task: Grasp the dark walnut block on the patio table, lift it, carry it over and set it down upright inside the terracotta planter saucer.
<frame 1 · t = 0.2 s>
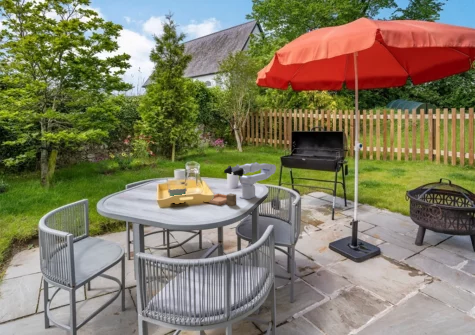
hand: (229, 172, 194), 21 cm above the table, tool horizontal, fingers open, 7 cm apart
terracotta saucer: (218, 200, 206), on the table
food container: (178, 203, 203), on the table
walnut block: (231, 204, 196), on the table
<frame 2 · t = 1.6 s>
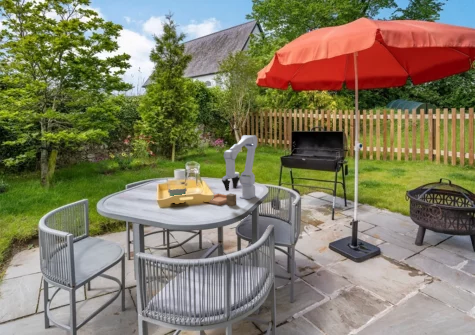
hand: (231, 189, 195), 10 cm above the table, tool pointing down, fingers open, 7 cm apart
nothing on the table moved.
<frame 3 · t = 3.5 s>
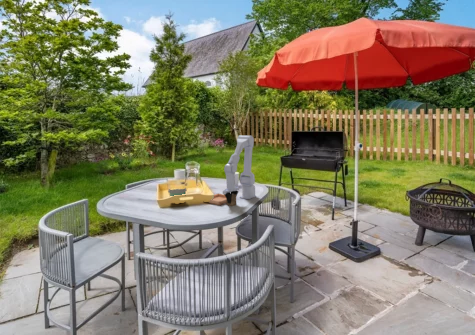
hand: (231, 202, 196), 2 cm above the table, tool pointing down, fingers closed on walnut block, 4 cm apart
walnut block: (231, 204, 196), on the table, touching gripper
everything else where it was.
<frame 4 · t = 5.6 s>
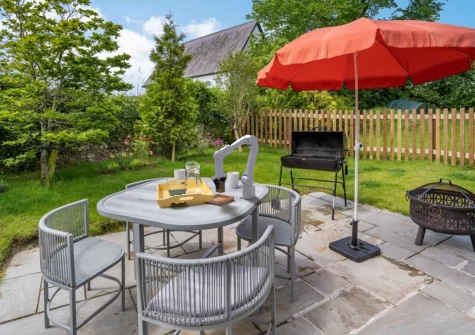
hand: (219, 188, 203), 9 cm above the table, tool pointing down, fingers closed on walnut block, 4 cm apart
walnut block: (220, 191, 204), point 7 cm above the table, touching gripper
everything else where it was.
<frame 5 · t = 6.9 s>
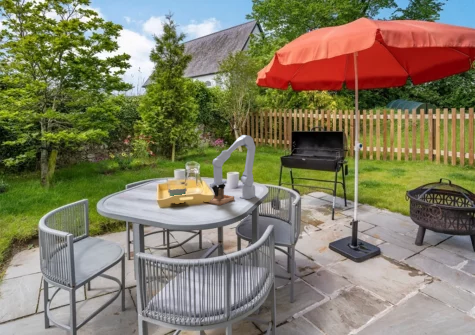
hand: (218, 195, 205), 4 cm above the table, tool pointing down, fingers closed on walnut block, 4 cm apart
walnut block: (219, 198, 205), point 2 cm above the table, touching gripper
everything else where it was.
when the fingers open (4 cm above the table, at t = 7.8 s): walnut block stays where it is, resting on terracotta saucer.
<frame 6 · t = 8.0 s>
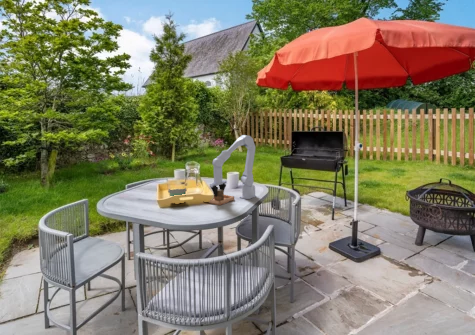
hand: (218, 195, 205), 4 cm above the table, tool pointing down, fingers open, 5 cm apart
walnut block: (219, 199, 206), point 1 cm above the table, touching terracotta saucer
everything else where it was.
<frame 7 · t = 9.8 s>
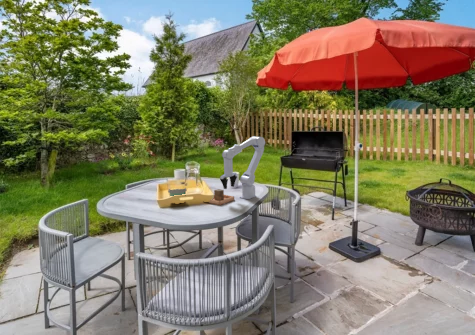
hand: (228, 187, 204), 9 cm above the table, tool pointing down, fingers open, 7 cm apart
nothing on the table moved.
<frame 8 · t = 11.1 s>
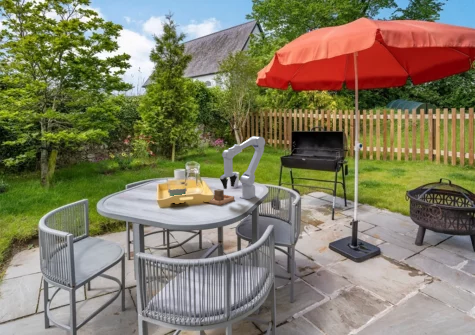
hand: (228, 187, 204), 9 cm above the table, tool pointing down, fingers open, 7 cm apart
nothing on the table moved.
at the end: walnut block inside the target area on the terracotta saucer (0.3 cm from its centre), point 0.8 cm above the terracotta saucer's base; walnut block tilted 0°; the gripper is holding nothing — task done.
